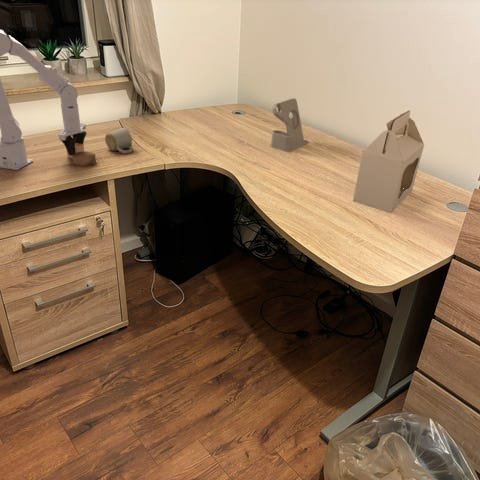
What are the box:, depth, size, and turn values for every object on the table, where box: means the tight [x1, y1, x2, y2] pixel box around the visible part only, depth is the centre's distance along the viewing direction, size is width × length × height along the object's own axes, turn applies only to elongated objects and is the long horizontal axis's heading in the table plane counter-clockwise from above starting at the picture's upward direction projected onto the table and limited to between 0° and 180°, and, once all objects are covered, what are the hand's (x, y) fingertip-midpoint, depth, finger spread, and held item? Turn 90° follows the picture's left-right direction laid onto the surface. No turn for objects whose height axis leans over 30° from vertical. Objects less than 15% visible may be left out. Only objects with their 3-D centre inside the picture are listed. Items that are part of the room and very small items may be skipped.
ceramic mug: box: [104, 127, 133, 154], centre depth 184 cm, size 11×8×8 cm
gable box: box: [352, 110, 425, 213], centre depth 154 cm, size 22×13×28 cm, turn 145°
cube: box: [65, 143, 85, 160], centre depth 176 cm, size 4×4×4 cm
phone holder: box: [270, 97, 309, 153], centre depth 197 cm, size 17×10×18 cm, turn 142°
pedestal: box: [71, 151, 97, 168], centre depth 172 cm, size 8×8×3 cm
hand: (75, 152), depth 176 cm, fingers closed on cube, 4 cm apart
